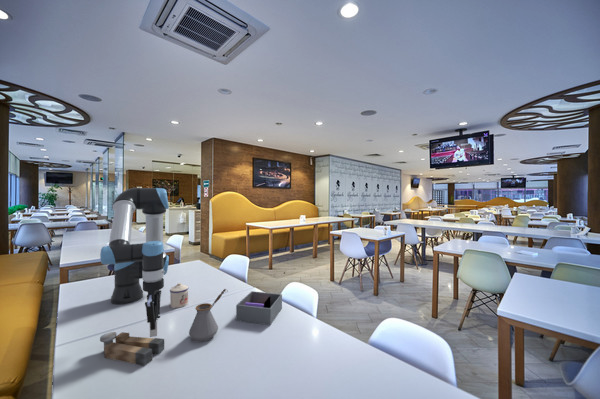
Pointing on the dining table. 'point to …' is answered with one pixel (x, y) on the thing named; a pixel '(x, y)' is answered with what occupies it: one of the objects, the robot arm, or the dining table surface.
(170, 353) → the dining table surface
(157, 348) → the bar
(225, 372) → the dining table surface
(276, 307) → the frame
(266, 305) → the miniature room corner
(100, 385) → the dining table surface
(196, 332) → the coffee pot
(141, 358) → the tongs lower arm
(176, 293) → the teacup with lid
